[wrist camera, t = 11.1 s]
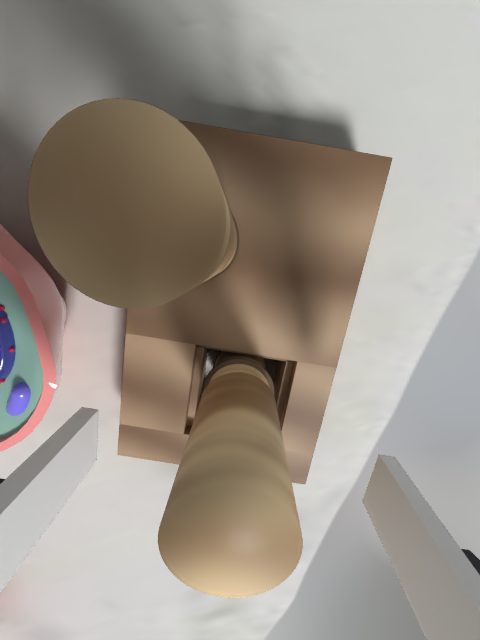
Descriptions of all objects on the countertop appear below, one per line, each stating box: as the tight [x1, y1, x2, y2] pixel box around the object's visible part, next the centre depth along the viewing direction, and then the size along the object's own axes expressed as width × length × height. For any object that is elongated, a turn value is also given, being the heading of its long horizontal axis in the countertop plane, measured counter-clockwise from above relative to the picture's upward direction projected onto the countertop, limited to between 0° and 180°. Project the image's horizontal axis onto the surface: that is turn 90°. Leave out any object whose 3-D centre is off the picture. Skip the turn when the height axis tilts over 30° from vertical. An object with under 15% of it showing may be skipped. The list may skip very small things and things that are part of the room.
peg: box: [158, 351, 303, 598], centre depth 15 cm, size 5×5×14 cm
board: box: [28, 98, 392, 484], centre depth 14 cm, size 22×14×14 cm, turn 171°
